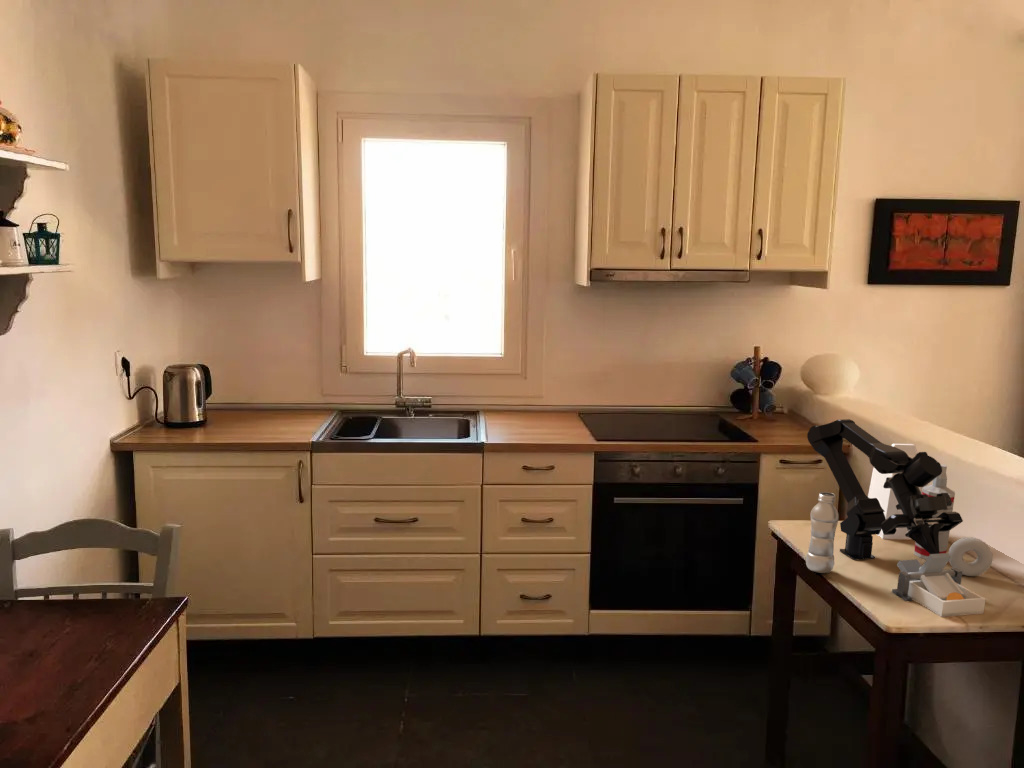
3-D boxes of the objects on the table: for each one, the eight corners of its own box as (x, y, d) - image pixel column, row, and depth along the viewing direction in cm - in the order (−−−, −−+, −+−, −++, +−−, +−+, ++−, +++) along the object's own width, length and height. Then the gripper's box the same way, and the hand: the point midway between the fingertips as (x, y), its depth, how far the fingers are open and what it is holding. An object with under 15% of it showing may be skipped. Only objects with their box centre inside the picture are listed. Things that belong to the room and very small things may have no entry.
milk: (901, 525, 239) (913, 439, 234) (923, 539, 227) (935, 450, 223) (862, 524, 238) (873, 438, 233) (882, 538, 226) (893, 449, 222)
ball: (953, 593, 180) (955, 609, 180) (966, 592, 181) (968, 608, 180) (942, 592, 183) (944, 608, 183) (954, 591, 184) (957, 607, 184)
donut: (987, 575, 203) (993, 538, 201) (991, 581, 200) (997, 542, 198) (943, 569, 206) (949, 532, 204) (947, 575, 202) (952, 537, 201)
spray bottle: (933, 562, 210) (946, 470, 206) (907, 552, 216) (919, 462, 212) (952, 558, 214) (965, 467, 209) (926, 548, 220) (938, 460, 216)
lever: (883, 565, 196) (902, 536, 190) (927, 562, 199) (946, 533, 193) (916, 612, 185) (937, 582, 179) (961, 608, 188) (983, 579, 182)
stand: (891, 592, 191) (894, 569, 190) (948, 588, 194) (951, 565, 193) (906, 601, 186) (909, 577, 185) (964, 597, 190) (967, 573, 189)
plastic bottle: (835, 577, 198) (844, 499, 194) (806, 574, 199) (815, 496, 196) (830, 567, 204) (839, 491, 200) (802, 564, 205) (810, 489, 202)
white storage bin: (905, 595, 189) (907, 581, 189) (946, 592, 192) (948, 578, 191) (941, 616, 179) (943, 602, 178) (983, 613, 181) (985, 598, 181)
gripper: (895, 481, 187) (923, 544, 179) (962, 479, 192) (993, 539, 183) (868, 503, 196) (895, 564, 187) (933, 500, 201) (962, 559, 192)
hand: (937, 556), depth 187 cm, fingers closed, pressing on lever
